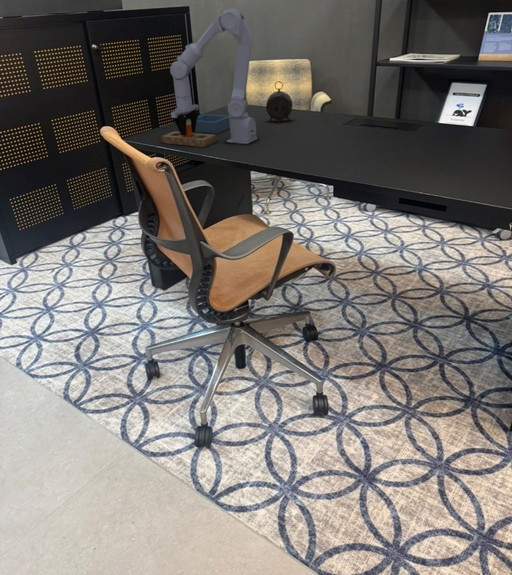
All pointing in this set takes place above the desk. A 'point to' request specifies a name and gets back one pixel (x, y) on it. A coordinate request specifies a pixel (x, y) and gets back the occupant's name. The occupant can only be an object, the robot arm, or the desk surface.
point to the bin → (212, 123)
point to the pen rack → (189, 139)
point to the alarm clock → (279, 105)
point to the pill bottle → (188, 128)
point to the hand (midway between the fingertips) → (188, 133)
